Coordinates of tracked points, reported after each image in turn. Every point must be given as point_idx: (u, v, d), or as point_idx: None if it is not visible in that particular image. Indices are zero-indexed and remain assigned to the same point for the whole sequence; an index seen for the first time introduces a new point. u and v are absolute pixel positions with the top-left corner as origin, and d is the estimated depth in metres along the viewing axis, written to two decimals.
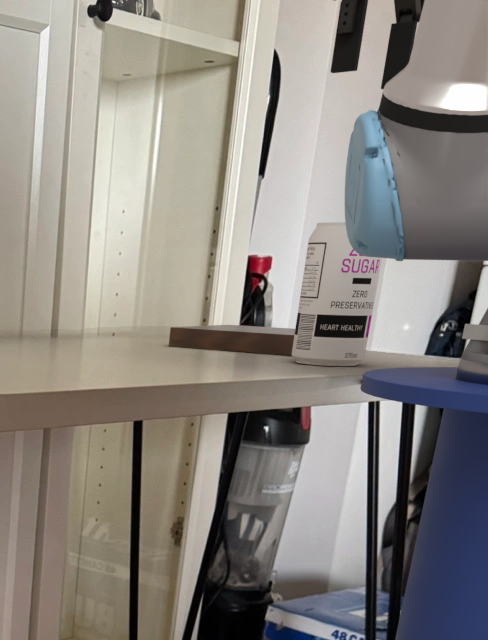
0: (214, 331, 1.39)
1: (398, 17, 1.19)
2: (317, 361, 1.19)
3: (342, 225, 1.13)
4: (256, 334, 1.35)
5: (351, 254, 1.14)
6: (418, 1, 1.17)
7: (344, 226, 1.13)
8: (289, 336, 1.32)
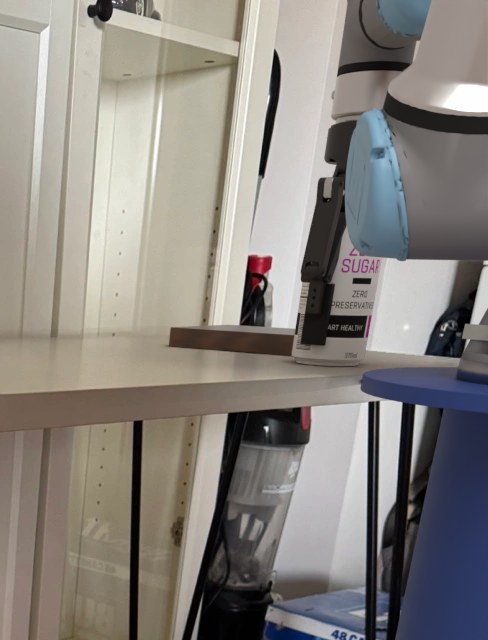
0: (214, 331, 1.39)
1: None
2: (317, 361, 1.19)
3: None
4: (256, 334, 1.35)
5: (351, 254, 1.14)
6: None
7: None
8: (289, 336, 1.32)
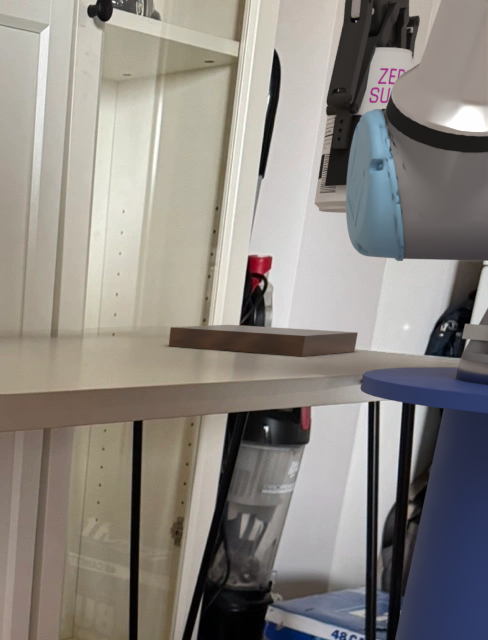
0: (214, 331, 1.39)
1: None
2: (342, 205, 1.12)
3: None
4: (256, 334, 1.35)
5: (380, 82, 1.07)
6: None
7: None
8: (289, 336, 1.32)
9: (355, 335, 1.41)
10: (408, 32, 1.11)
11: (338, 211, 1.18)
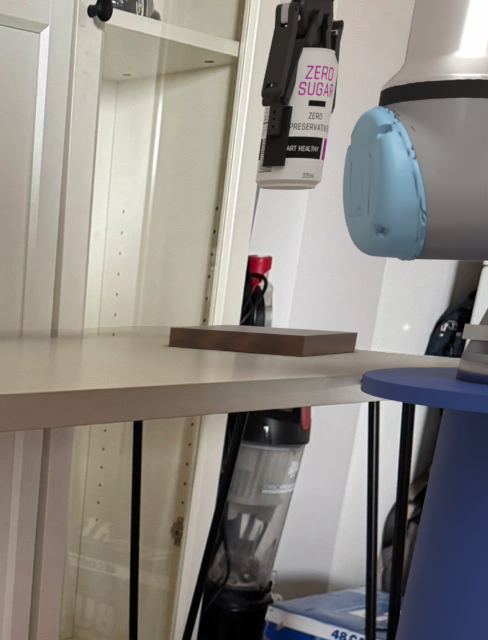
0: (214, 331, 1.39)
1: None
2: (277, 182, 1.31)
3: None
4: (256, 334, 1.35)
5: (307, 77, 1.25)
6: None
7: None
8: (289, 336, 1.32)
9: (355, 335, 1.41)
10: (333, 34, 1.30)
11: (276, 188, 1.37)
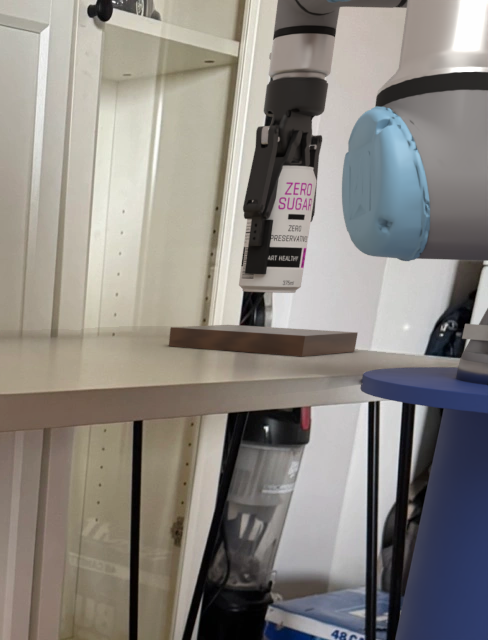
0: (214, 331, 1.39)
1: None
2: (259, 289, 1.38)
3: None
4: (256, 334, 1.35)
5: (286, 193, 1.32)
6: None
7: None
8: (289, 336, 1.32)
9: (355, 335, 1.41)
10: (312, 148, 1.36)
11: None
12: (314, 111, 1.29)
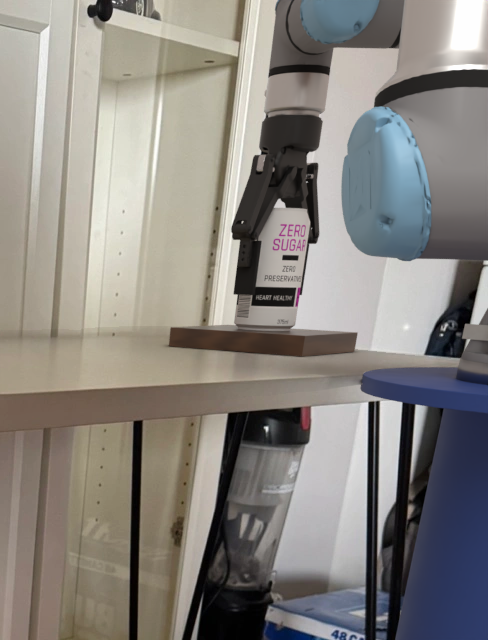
0: (214, 331, 1.39)
1: None
2: (254, 327, 1.40)
3: (272, 210, 1.34)
4: (256, 334, 1.35)
5: (280, 234, 1.34)
6: (309, 228, 1.41)
7: (274, 211, 1.34)
8: (289, 336, 1.32)
9: (355, 335, 1.41)
10: (309, 178, 1.38)
11: None
12: (309, 148, 1.31)
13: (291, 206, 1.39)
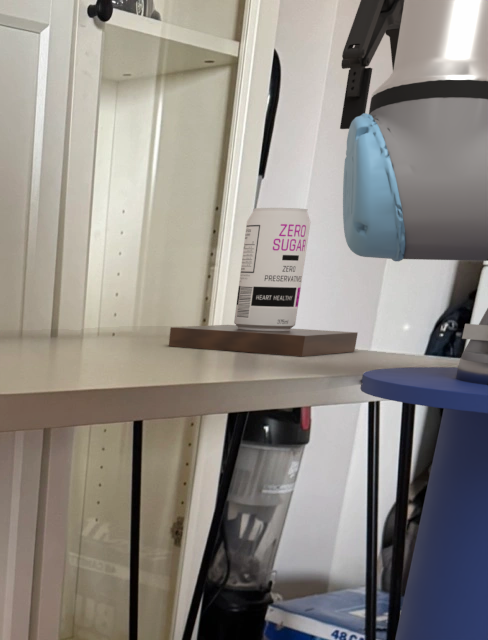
0: (214, 331, 1.39)
1: None
2: (254, 327, 1.40)
3: (273, 210, 1.34)
4: (256, 334, 1.35)
5: (280, 234, 1.34)
6: None
7: (274, 211, 1.34)
8: (289, 336, 1.32)
9: (355, 335, 1.41)
10: None
11: None
12: None
13: (396, 40, 1.35)
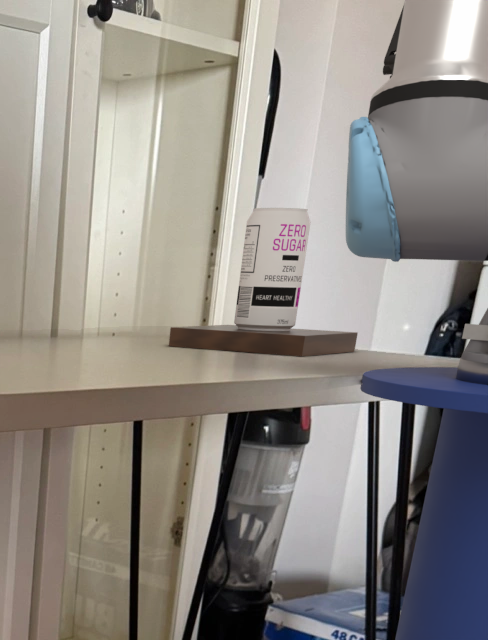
0: (214, 331, 1.39)
1: None
2: (254, 327, 1.40)
3: (273, 210, 1.34)
4: (256, 334, 1.35)
5: (280, 234, 1.34)
6: None
7: (274, 211, 1.34)
8: (289, 336, 1.32)
9: (355, 335, 1.41)
10: None
11: None
12: None
13: None
